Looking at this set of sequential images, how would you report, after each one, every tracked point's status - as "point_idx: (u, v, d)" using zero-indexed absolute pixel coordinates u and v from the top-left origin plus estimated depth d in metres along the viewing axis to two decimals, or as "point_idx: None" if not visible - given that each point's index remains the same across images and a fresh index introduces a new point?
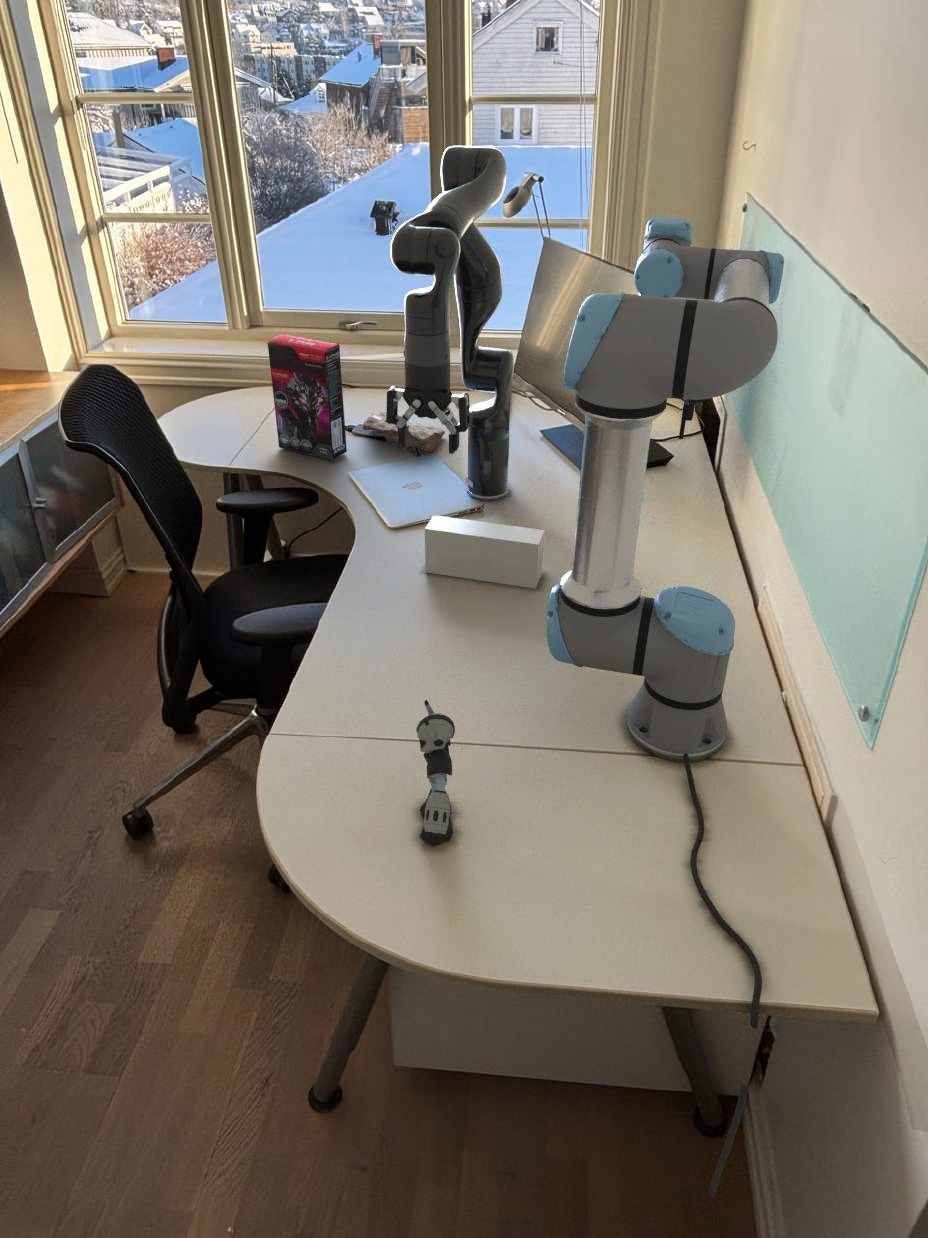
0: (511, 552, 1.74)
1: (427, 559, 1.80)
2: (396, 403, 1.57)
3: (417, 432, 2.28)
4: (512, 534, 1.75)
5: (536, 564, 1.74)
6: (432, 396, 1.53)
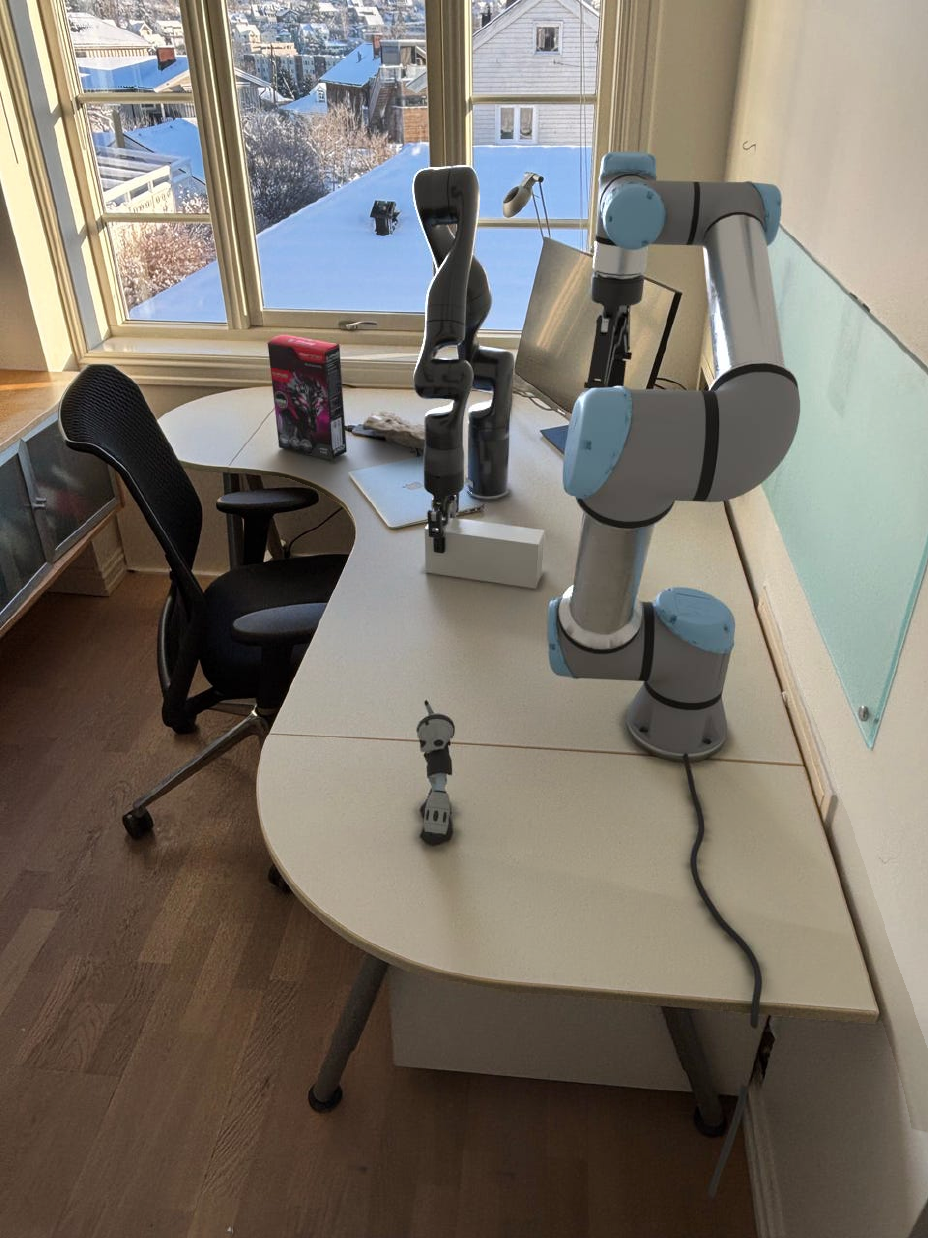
0: (511, 552, 1.74)
1: (427, 559, 1.80)
2: None
3: (417, 432, 2.28)
4: (512, 534, 1.75)
5: (536, 564, 1.74)
6: None
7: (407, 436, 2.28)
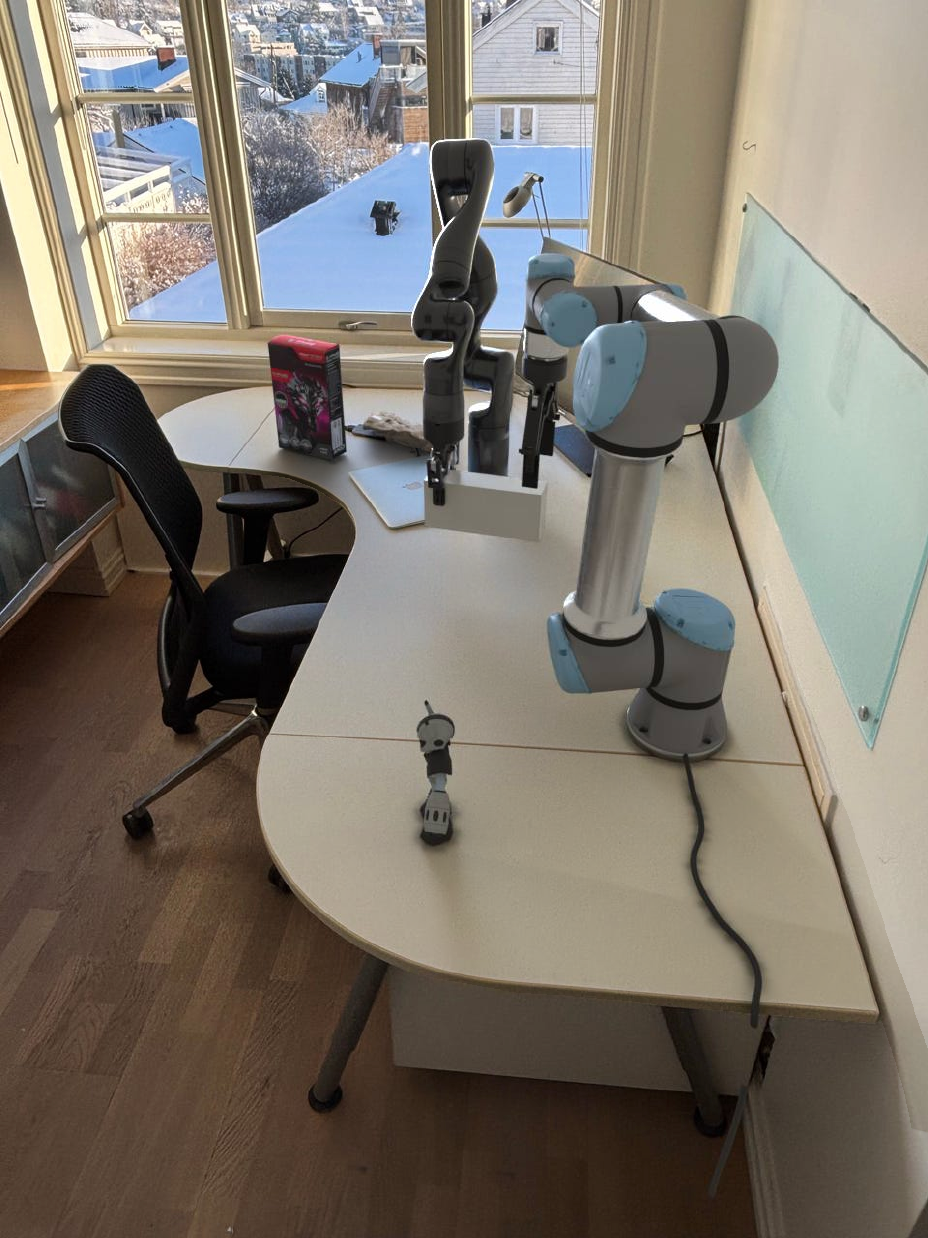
0: (513, 504, 1.69)
1: (426, 512, 1.75)
2: None
3: (417, 432, 2.28)
4: (514, 485, 1.70)
5: (539, 516, 1.69)
6: None
7: (407, 436, 2.28)
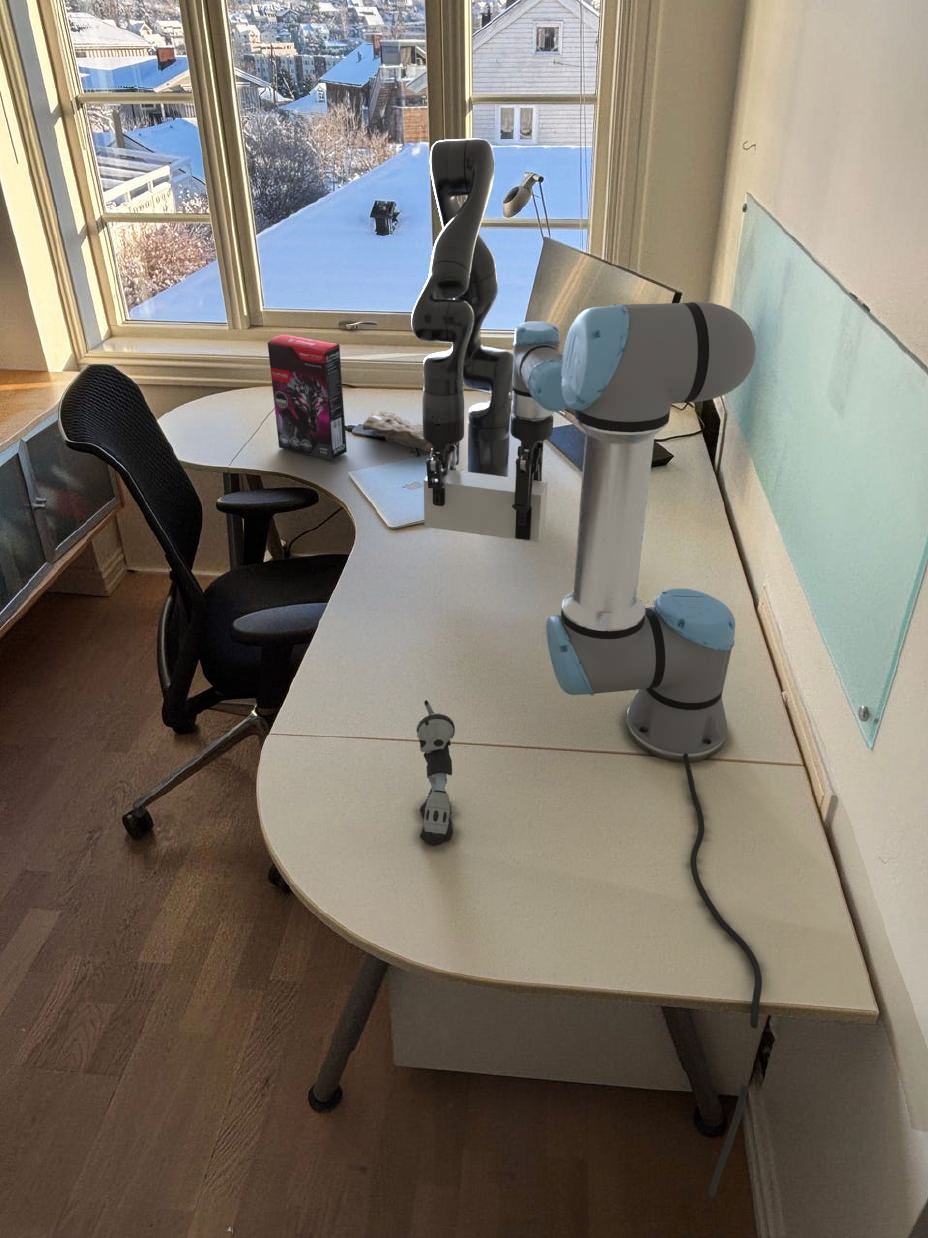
0: None
1: (426, 513, 1.75)
2: None
3: (417, 432, 2.28)
4: (514, 485, 1.70)
5: (539, 516, 1.69)
6: None
7: (407, 436, 2.28)
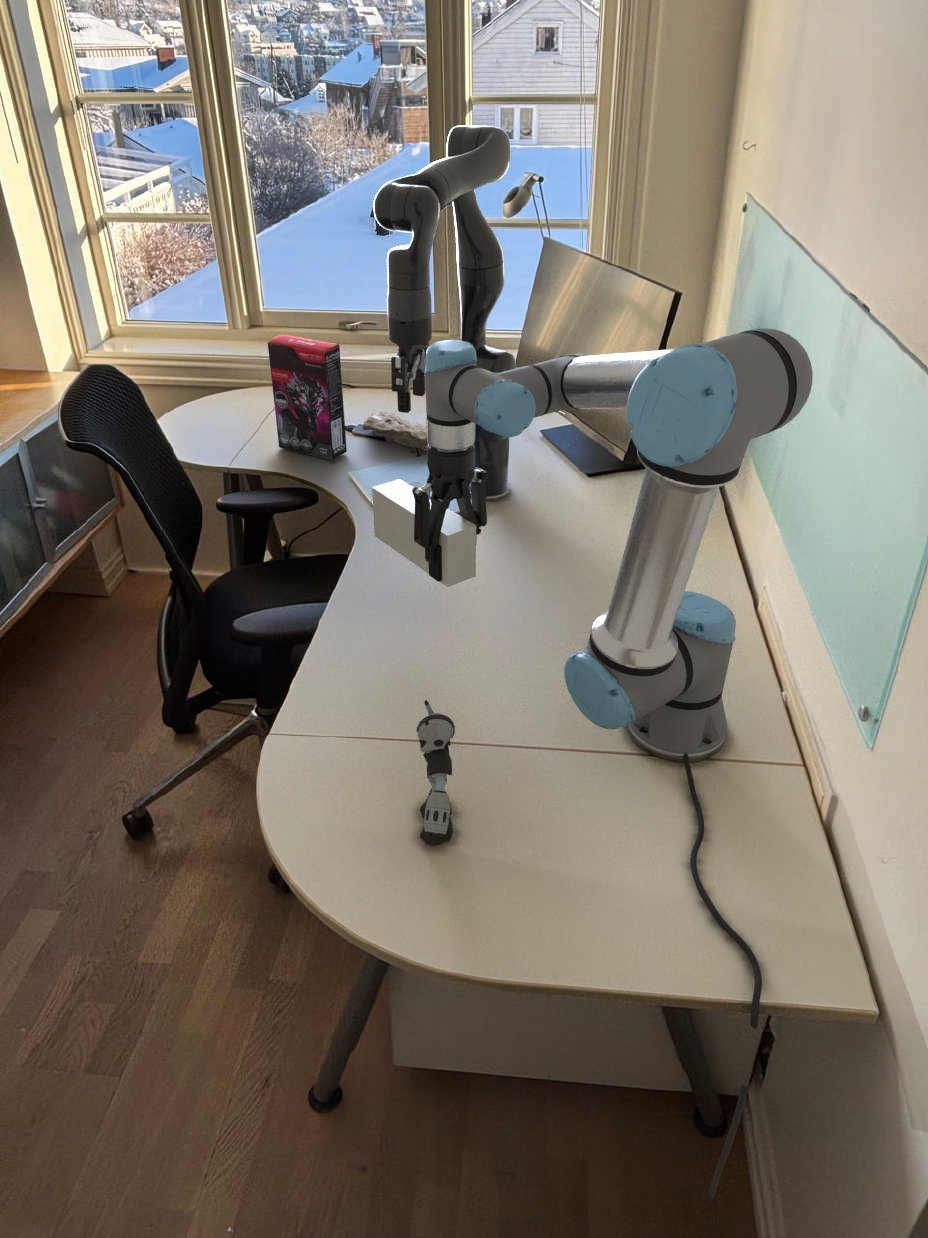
0: None
1: (375, 522, 1.66)
2: None
3: (417, 432, 2.28)
4: None
5: (447, 558, 1.50)
6: (418, 346, 1.62)
7: (407, 436, 2.28)
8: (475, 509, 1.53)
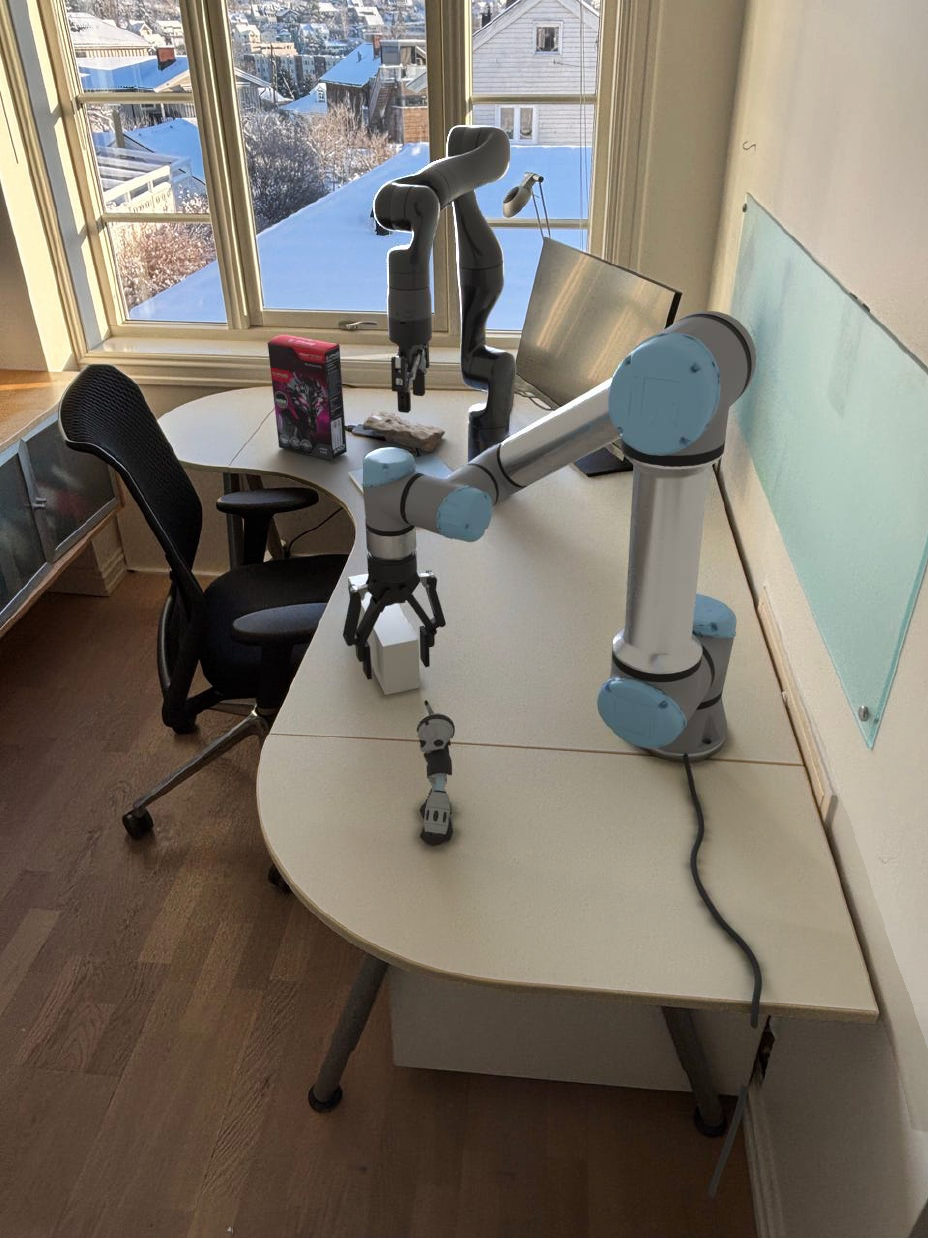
0: (374, 642, 1.50)
1: None
2: None
3: (417, 432, 2.28)
4: (388, 624, 1.50)
5: (383, 668, 1.47)
6: (418, 346, 1.62)
7: (407, 436, 2.28)
8: (432, 610, 1.48)
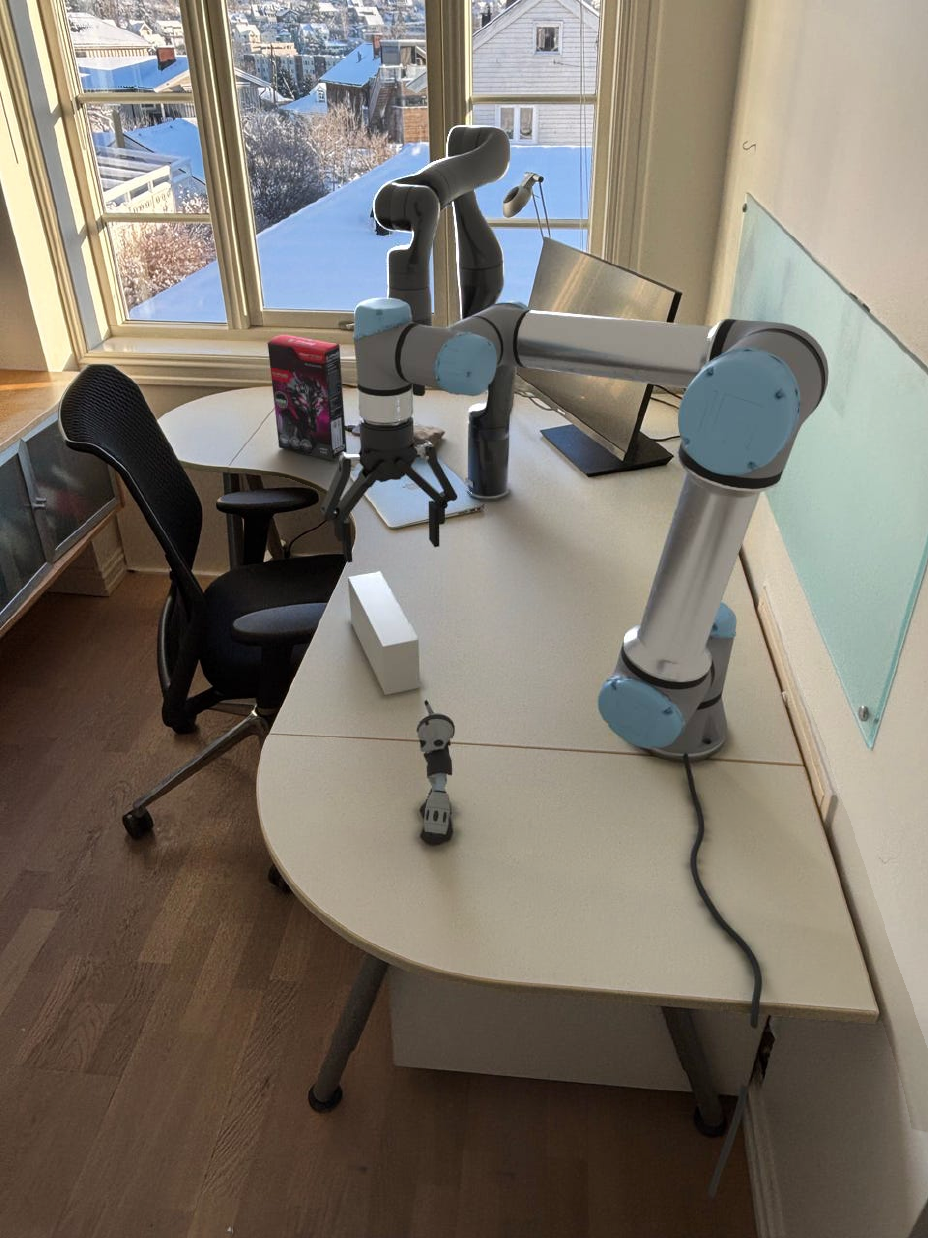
0: (374, 642, 1.50)
1: (350, 610, 1.65)
2: None
3: (417, 432, 2.28)
4: (388, 624, 1.50)
5: (383, 668, 1.47)
6: None
7: None
8: (440, 484, 1.37)
